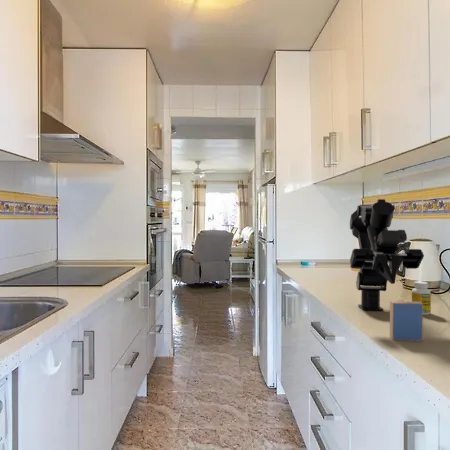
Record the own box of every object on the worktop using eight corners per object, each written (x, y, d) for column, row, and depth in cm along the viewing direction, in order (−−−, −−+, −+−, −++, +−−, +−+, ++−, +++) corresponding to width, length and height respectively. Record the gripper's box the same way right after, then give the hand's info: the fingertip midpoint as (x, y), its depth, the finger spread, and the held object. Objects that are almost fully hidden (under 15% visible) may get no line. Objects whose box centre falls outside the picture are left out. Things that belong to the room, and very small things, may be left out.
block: (389, 337, 98) (389, 301, 98) (419, 338, 97) (419, 301, 97) (392, 340, 96) (393, 302, 96) (422, 340, 95) (422, 303, 95)
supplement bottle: (420, 310, 127) (420, 280, 127) (434, 314, 123) (434, 283, 122) (407, 312, 125) (407, 281, 125) (422, 315, 120) (422, 284, 120)
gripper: (352, 219, 111) (363, 263, 100) (421, 220, 110) (439, 264, 99) (346, 246, 119) (355, 289, 108) (410, 246, 118) (425, 290, 107)
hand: (393, 282), depth 105 cm, fingers closed
